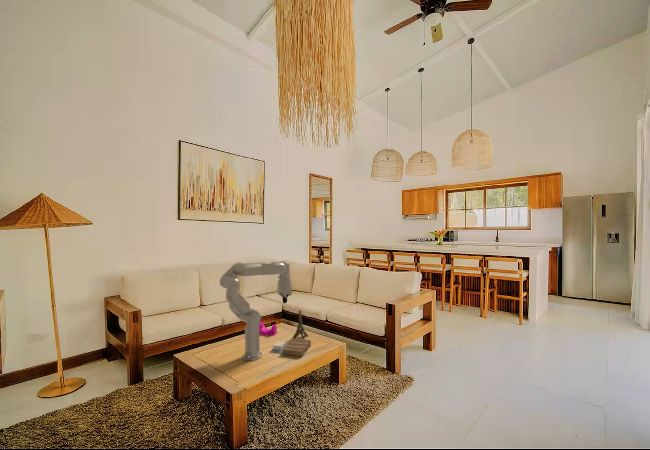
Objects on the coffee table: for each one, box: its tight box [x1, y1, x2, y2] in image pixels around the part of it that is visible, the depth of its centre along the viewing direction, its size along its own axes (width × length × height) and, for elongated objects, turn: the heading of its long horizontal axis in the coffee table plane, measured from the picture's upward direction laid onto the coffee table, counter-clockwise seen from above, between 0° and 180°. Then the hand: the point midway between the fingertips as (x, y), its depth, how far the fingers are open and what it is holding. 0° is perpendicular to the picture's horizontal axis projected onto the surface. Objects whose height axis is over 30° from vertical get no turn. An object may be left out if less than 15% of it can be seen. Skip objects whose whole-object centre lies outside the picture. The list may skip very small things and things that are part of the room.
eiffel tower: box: [291, 310, 309, 340], centre depth 239 cm, size 11×11×25 cm
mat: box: [269, 343, 288, 355], centre depth 218 cm, size 16×10×1 cm, turn 165°
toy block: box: [259, 322, 278, 337], centre depth 247 cm, size 15×6×8 cm, turn 69°
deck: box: [282, 337, 312, 358], centre depth 215 cm, size 20×14×4 cm
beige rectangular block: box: [272, 340, 287, 351], centre depth 219 cm, size 9×6×3 cm, turn 165°
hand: (284, 302), depth 225 cm, fingers closed
